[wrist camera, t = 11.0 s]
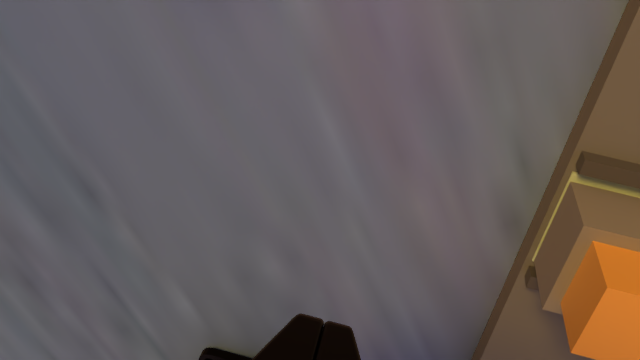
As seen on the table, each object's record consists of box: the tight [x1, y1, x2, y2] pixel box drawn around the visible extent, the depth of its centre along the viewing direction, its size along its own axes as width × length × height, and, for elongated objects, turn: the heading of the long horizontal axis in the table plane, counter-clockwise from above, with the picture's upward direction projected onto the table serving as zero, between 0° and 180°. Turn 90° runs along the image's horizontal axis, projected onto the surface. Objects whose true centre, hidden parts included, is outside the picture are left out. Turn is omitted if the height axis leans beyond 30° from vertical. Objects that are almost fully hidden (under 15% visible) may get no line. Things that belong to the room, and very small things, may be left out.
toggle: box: [534, 181, 640, 360], centre depth 18 cm, size 3×3×4 cm
